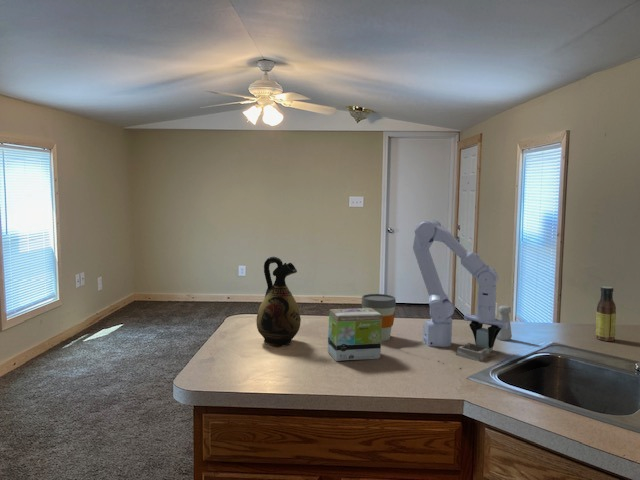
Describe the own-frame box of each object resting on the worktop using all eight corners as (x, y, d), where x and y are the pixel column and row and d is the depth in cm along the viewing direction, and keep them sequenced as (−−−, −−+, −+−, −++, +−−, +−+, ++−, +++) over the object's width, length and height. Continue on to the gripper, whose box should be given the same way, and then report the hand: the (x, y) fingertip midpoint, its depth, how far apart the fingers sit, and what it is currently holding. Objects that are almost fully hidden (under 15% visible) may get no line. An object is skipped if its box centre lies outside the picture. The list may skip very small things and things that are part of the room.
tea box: (336, 362, 150) (337, 315, 149) (327, 352, 160) (328, 308, 158) (381, 359, 154) (382, 313, 153) (369, 349, 164) (371, 306, 162)
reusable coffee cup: (401, 340, 174) (402, 299, 173) (370, 343, 170) (371, 301, 168) (384, 331, 186) (385, 292, 185) (354, 334, 181) (355, 294, 180)
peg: (487, 353, 159) (488, 332, 158) (475, 350, 161) (476, 329, 161) (492, 350, 161) (493, 330, 161) (481, 347, 164) (482, 327, 164)
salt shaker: (493, 342, 175) (495, 306, 174) (495, 338, 180) (497, 303, 179) (510, 344, 172) (512, 308, 171) (512, 340, 177) (514, 305, 176)
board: (475, 348, 167) (476, 338, 167) (501, 354, 161) (501, 344, 160) (454, 357, 157) (455, 347, 157) (481, 364, 151) (481, 353, 150)
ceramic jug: (308, 340, 173) (309, 256, 170) (287, 352, 159) (288, 261, 156) (267, 333, 180) (267, 253, 177) (243, 344, 166) (244, 258, 163)
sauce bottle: (609, 337, 183) (613, 285, 182) (618, 342, 177) (622, 288, 175) (591, 336, 184) (595, 285, 182) (599, 341, 178) (603, 288, 176)
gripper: (513, 307, 158) (510, 348, 159) (471, 300, 168) (470, 338, 169) (503, 310, 153) (501, 352, 154) (461, 303, 163) (459, 342, 164)
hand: (484, 345), depth 161 cm, fingers closed on peg, 4 cm apart
